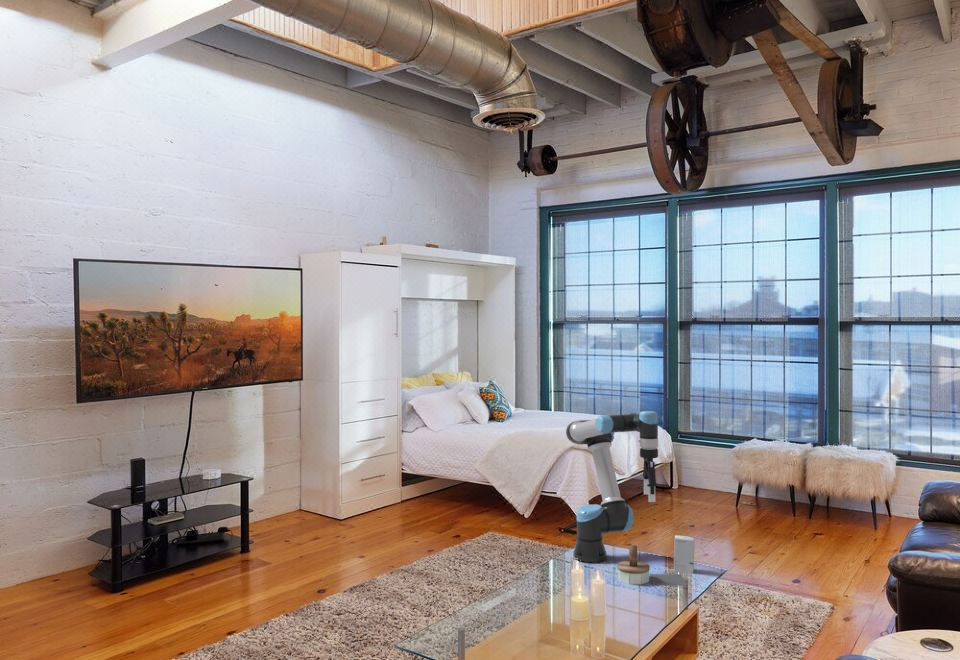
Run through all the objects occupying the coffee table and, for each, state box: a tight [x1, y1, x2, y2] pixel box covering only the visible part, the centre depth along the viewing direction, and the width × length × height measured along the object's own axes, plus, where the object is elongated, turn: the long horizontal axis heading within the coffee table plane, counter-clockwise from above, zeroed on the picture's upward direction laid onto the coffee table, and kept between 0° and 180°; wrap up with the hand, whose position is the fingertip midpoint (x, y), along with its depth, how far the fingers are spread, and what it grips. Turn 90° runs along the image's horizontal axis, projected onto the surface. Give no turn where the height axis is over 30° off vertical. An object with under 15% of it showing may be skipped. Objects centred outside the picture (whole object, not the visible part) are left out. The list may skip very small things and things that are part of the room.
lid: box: [617, 544, 650, 574], centre depth 298 cm, size 13×13×9 cm
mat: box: [649, 573, 688, 587], centre depth 297 cm, size 13×13×1 cm
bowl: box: [617, 568, 650, 585], centre depth 298 cm, size 12×12×5 cm
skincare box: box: [673, 534, 695, 574], centre depth 308 cm, size 8×6×15 cm
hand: (649, 498), depth 304 cm, fingers open, 13 cm apart
